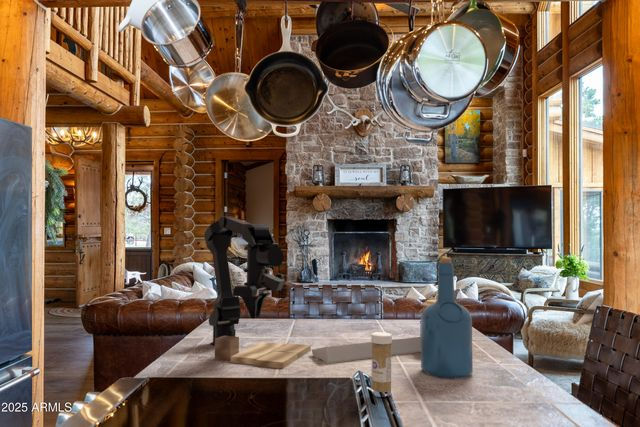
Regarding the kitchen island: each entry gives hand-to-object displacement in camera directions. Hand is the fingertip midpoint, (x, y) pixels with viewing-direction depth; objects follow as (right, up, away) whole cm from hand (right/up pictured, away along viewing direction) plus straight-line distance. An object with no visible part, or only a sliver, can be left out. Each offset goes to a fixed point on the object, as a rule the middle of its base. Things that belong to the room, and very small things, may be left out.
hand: (255, 317), depth 137 cm
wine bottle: (+53, -11, -18) cm, 57 cm away
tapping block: (-7, -11, -6) cm, 14 cm away
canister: (+58, -12, +9) cm, 60 cm away
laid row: (+9, -11, -4) cm, 15 cm away
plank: (+1, -11, -1) cm, 11 cm away
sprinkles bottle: (+33, -9, -36) cm, 50 cm away
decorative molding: (+35, -12, +2) cm, 37 cm away
